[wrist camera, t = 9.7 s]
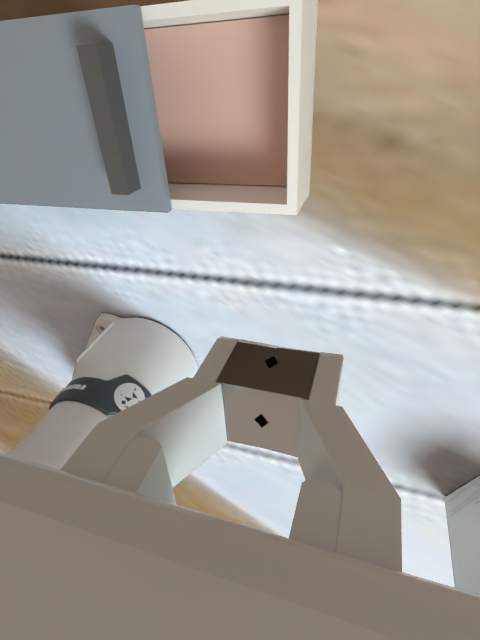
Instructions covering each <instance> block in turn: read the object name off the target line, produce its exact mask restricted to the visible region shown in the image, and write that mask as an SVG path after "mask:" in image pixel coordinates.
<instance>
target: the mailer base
mask: <svg viewBox="0 0 480 640" xmlns="http://www.w3.org/2000/svg"><path fill="white" fill-rule="evenodd" d="M317 9H318V0H189V1H181V2H172V3H164V4H156V5H148V6H141V13H142V19H143V26H144V32H145V38H146V45H147V51H148V58H149V64H150V71H151V77H152V84H153V90H154V97H155V103H156V109H157V116H158V122H159V129H160V135H161V142H162V148H163V155H164V161H165V167H166V174H167V180H168V187H169V193H170V200H171V206H172V209H190V210H209V211H229V212H248V213H268V214H287V215H297V214H298V212H299V210H300V209H301V207H302V205H303V204H304V202H305V200H306V199H307V197H308V195H309V193H310V170H311V147H312V124H313V101H314V78H315V55H316V32H317Z"/></svg>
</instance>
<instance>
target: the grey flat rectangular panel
mask: <svg viewBox="0 0 480 640" xmlns="http://www.w3.org/2000/svg"><path fill="white" fill-rule="evenodd" d="M0 204H19V205H37V206H55V207H73V208H91V209H109V210H128V211H146V212H164V213H168V212H170V211H171V210H172V206H171V200H170V193H169V187H168V180H167V174H166V167H165V161H164V155H163V148H162V142H161V135H160V129H159V122H158V116H157V109H156V103H155V97H154V90H153V84H152V77H151V71H150V64H149V58H148V51H147V45H146V38H145V32H144V26H143V19H142V13H141V6H139V5H126V6H118V7H110V8H102V9H94V10H86V11H78V12H69V13H61V14H53V15H45V16H37V17H29V18H20V19H12V20H4V21H0Z"/></svg>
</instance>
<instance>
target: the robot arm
mask: <svg viewBox="0 0 480 640" xmlns="http://www.w3.org/2000/svg"><path fill="white" fill-rule="evenodd" d="M76 362H77V365H76V367H75V369H74V373H73V377H72V381H71V382H70V383H69V384H68V385H67V386H66V387H65V388H63V389H62V390H61V391H60V392H59V394H58V395H57V396H56V398H55V399H54V400H53V402H52V403H51V405H50V407H49V411H48V412H47V413H46V414H45V415H44V416H43V417H42V418H41V419H40V420H39V421H38V422H37V423H36V425H35V426H34V427H33V428H32V429H31V430H30V431H29V432H28V433H27V434H26V435H25V436H24V437H23V438H22V439H21V440H20V441H19V442H18V443H17V444H16V445H15V446H14V447H13V448H12V449H11V451H10V452H9V453H8V454H5V453H1V452H0V640H480V595H477V594H473V593H470V592H467V591H463V590H460V589H457V588H453V587H450V586H447V585H443V584H440V583H436V582H433V581H430V580H426V579H423V578H420V577H416V576H413V575H410V574H406V573H403V572H402V544H401V499H400V497H399V495H398V494H397V492H396V491H395V489H394V488H393V486H392V484H391V483H390V481H389V480H388V478H387V477H386V475H385V473H384V472H383V470H382V469H381V467H380V466H379V464H378V462H377V461H376V459H375V458H374V456H373V454H372V453H371V451H370V450H369V448H368V447H367V445H366V443H365V442H364V440H363V439H362V437H361V436H360V434H359V432H358V431H357V429H356V428H355V426H354V425H353V423H352V421H351V420H350V418H349V417H348V415H347V414H346V412H345V410H344V409H343V407H341V406H338V399H339V391H340V382H341V374H342V366H343V355H340V354H332V353H324V352H321V353H320V352H313V351H306V350H299V349H293V348H286V347H279V346H275V345H269V344H264V343H258V342H252V341H247V340H239V339H234V338H228V337H220V338H218V339H217V340H216V342H215V343H214V345H213V347H212V348H211V350H210V351H209V353H208V355H207V356H206V358H205V359H204V361H203V363H202V364H201V366H200V367H199V369H198V366H197V362H196V360H195V357H194V355H193V354H192V352H191V350H190V349H189V348H188V346H187V345H186V344H185V343H184V341H183V340H182V339H181V338H180V337H178V336H177V335H176V334H175V333H174V332H172V331H171V330H169V329H168V328H166V327H165V326H163V325H161V324H159V323H156V322H154V321H151V320H148V319H143V318H120V317H118V316H115V315H112V314H108V313H102V314H101V315H100V316H99V317H98V318H97V320H96V323H95V325H94V328H93V330H92V332H91V335H90V337H89V340H88V342H87V345H86V347H85V350H84V352H83V353H82V354H81V355H80V356H79V357H78V358H77V360H76ZM227 441H231V442H236V443H241V444H246V445H251V446H256V447H261V448H265V449H269V450H272V451H276V452H280V453H284V454H288V455H291V456H295V457H298V460H299V463H300V466H301V468H302V471H303V474H304V477H305V479H306V481H304V482H302V485H301V489H300V493H299V498H298V502H297V506H296V510H295V515H294V519H293V523H292V527H291V532H290V536H289V538H286V537H282V536H279V535H276V534H272V533H269V532H266V531H262V530H259V529H256V528H252V527H249V526H245V525H242V524H239V523H235V522H232V521H229V520H225V519H222V518H219V517H215V516H212V515H209V514H205V513H202V512H199V511H195V510H192V509H189V508H185V507H182V506H179V505H177V504H176V500H175V496H174V492H173V487H174V486H175V485H177V484H178V483H179V482H180V481H181V480H183V479H184V478H185V477H186V476H188V475H189V474H190V473H191V472H192V471H194V470H195V469H196V468H197V467H199V466H200V465H201V464H202V463H203V462H205V461H206V460H207V459H208V458H210V457H211V456H212V455H213V454H214V453H216V452H217V451H218V450H219V449H221V448H222V447H223V446H224V445H225V444H227Z"/></svg>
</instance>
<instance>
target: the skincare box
mask: <svg viewBox="0 0 480 640" xmlns="http://www.w3.org/2000/svg"><path fill="white" fill-rule="evenodd" d="M445 506H446V515H447V523H448V532H449V540H450V549H451V558H452V567H453V576H454V584H455V588H457V589H460V590H463V591H467V592H470V593H473V594H477V595H480V476H478V477H477V478H475V479H473V480H472V481H470V482H469V483H467V484H465V485H464V486H462V487H461V488H459V489H457V490H456V491H454V492H453V493H451V494H449V495H448V496H446V497H445Z"/></svg>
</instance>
